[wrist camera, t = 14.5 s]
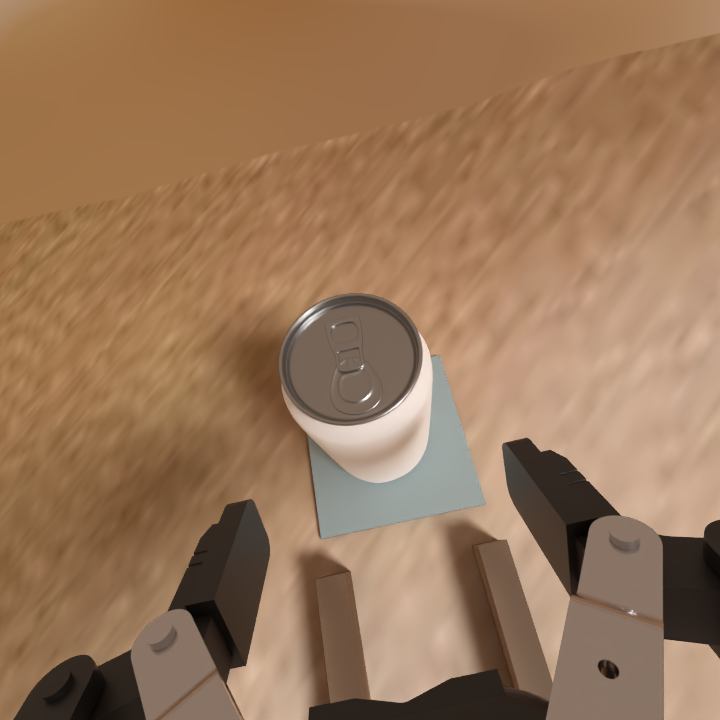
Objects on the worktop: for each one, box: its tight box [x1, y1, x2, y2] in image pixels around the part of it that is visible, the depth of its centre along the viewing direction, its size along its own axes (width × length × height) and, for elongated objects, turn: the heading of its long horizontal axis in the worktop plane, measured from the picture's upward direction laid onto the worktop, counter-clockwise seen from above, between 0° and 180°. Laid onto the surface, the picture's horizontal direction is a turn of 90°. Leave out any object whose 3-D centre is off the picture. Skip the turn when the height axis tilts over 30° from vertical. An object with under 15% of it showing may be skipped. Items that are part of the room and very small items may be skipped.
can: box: [278, 293, 433, 483], centre depth 21 cm, size 6×6×12 cm
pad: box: [307, 355, 486, 539], centre depth 26 cm, size 10×10×1 cm
